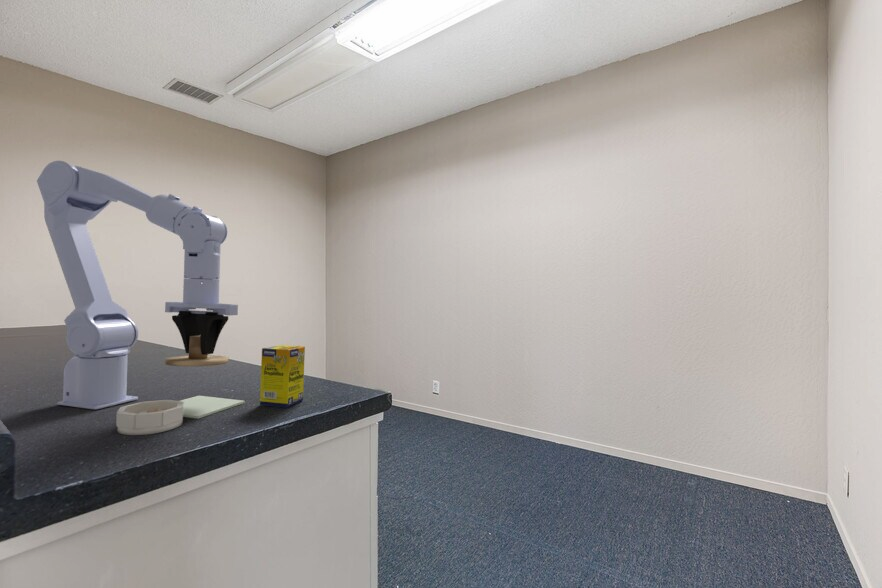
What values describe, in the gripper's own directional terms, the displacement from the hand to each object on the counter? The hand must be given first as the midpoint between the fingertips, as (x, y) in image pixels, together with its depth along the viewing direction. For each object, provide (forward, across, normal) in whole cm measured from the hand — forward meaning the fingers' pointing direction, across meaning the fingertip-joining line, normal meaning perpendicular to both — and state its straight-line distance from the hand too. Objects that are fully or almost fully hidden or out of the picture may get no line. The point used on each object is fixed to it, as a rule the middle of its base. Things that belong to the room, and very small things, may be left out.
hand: (199, 353), depth 77 cm
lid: (+2, 0, 0) cm, 2 cm away
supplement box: (+10, +12, +8) cm, 18 cm away
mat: (+10, 0, 0) cm, 10 cm away
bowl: (+10, +2, -11) cm, 15 cm away
